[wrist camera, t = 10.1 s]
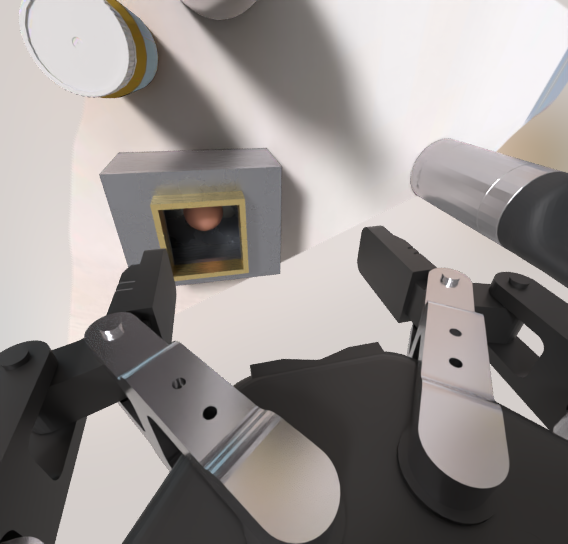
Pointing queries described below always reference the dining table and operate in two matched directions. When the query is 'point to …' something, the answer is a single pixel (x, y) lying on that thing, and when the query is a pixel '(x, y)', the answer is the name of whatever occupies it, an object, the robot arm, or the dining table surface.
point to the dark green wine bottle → (219, 8)
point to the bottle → (89, 45)
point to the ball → (203, 217)
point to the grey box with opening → (193, 194)
